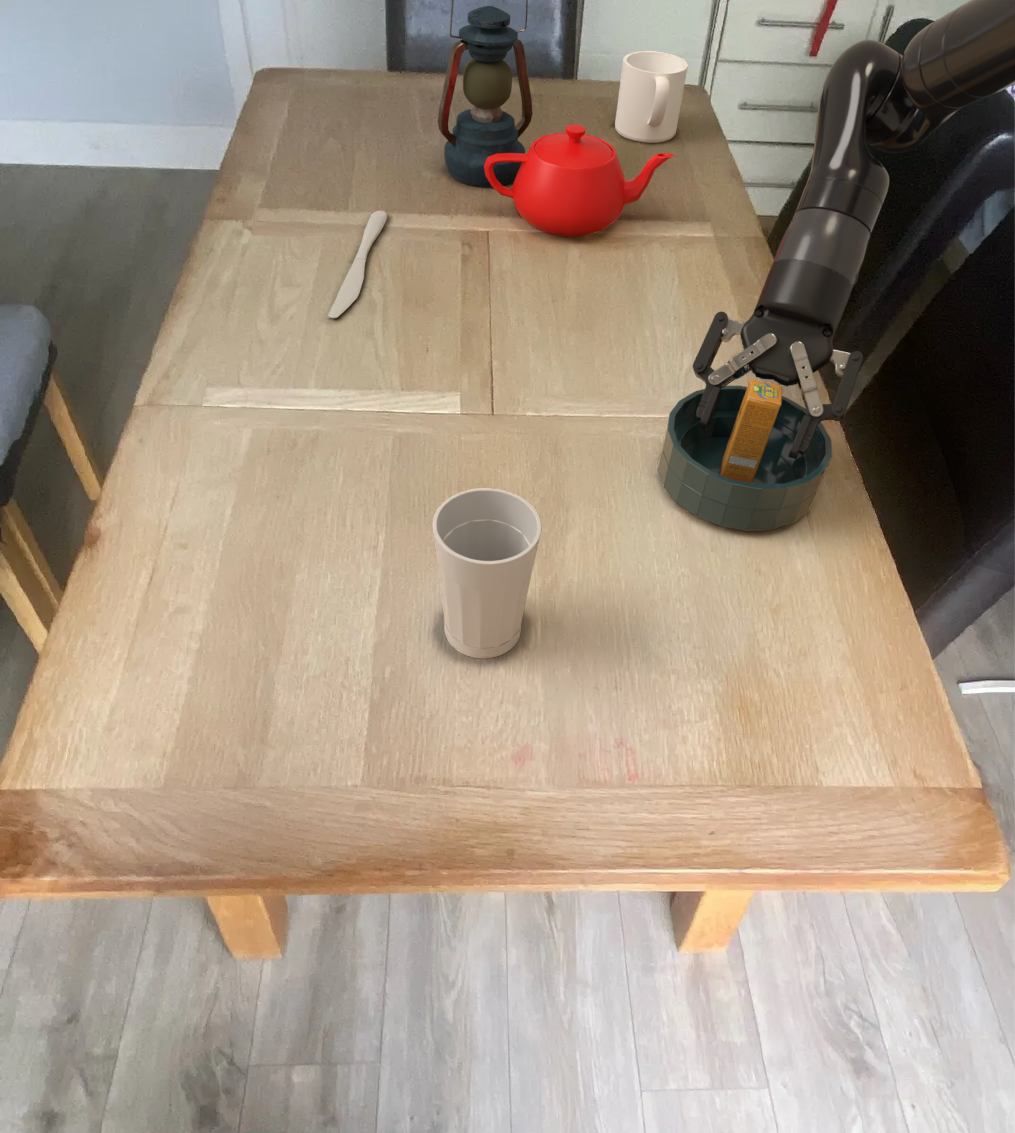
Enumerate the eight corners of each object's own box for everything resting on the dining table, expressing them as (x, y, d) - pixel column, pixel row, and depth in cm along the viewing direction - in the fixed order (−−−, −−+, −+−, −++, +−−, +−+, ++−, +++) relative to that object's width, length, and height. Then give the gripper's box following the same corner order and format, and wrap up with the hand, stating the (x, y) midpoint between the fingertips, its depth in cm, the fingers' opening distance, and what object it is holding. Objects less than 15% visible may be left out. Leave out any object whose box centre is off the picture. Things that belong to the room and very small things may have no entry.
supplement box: (754, 489, 87) (782, 405, 80) (718, 482, 88) (743, 398, 80) (756, 467, 89) (783, 383, 82) (721, 461, 90) (745, 377, 82)
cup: (523, 673, 72) (533, 571, 63) (424, 658, 72) (421, 554, 64) (536, 599, 77) (548, 495, 68) (445, 585, 78) (445, 480, 69)
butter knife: (395, 211, 123) (373, 207, 123) (346, 319, 105) (321, 315, 105) (395, 215, 123) (373, 211, 123) (346, 324, 105) (321, 320, 105)
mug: (610, 117, 151) (618, 50, 143) (669, 119, 151) (680, 51, 144) (622, 149, 142) (632, 79, 135) (684, 150, 143) (697, 80, 135)
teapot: (481, 242, 119) (484, 148, 111) (483, 189, 130) (486, 100, 121) (669, 250, 120) (686, 158, 111) (655, 197, 131) (671, 109, 122)
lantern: (454, 195, 128) (456, -107, 103) (425, 161, 136) (420, -129, 110) (544, 182, 133) (567, -111, 107) (512, 149, 140) (526, -132, 114)
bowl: (810, 446, 93) (828, 399, 89) (814, 549, 83) (835, 501, 79) (664, 422, 95) (674, 375, 90) (650, 520, 85) (661, 471, 80)
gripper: (735, 238, 81) (670, 410, 82) (897, 281, 77) (825, 461, 78) (739, 267, 88) (678, 425, 89) (887, 308, 84) (821, 472, 85)
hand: (747, 442), depth 83 cm, fingers open, 8 cm apart
